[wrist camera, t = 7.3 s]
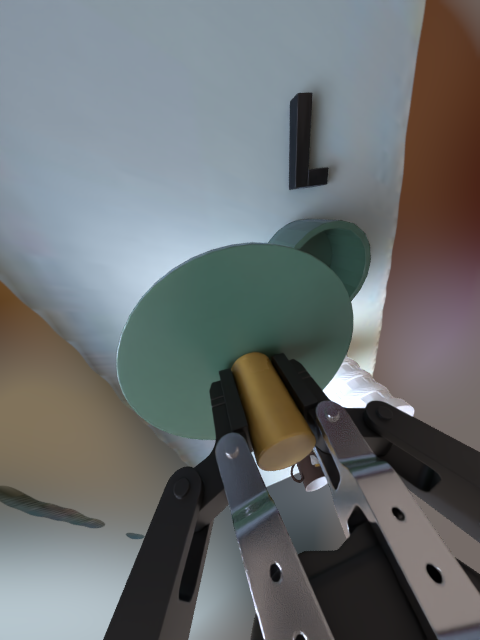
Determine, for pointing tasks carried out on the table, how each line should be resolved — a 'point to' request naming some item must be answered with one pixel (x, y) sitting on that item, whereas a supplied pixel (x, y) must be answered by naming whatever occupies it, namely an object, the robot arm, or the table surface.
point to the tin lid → (236, 343)
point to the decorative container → (360, 389)
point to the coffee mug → (310, 472)
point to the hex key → (302, 145)
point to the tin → (331, 247)
